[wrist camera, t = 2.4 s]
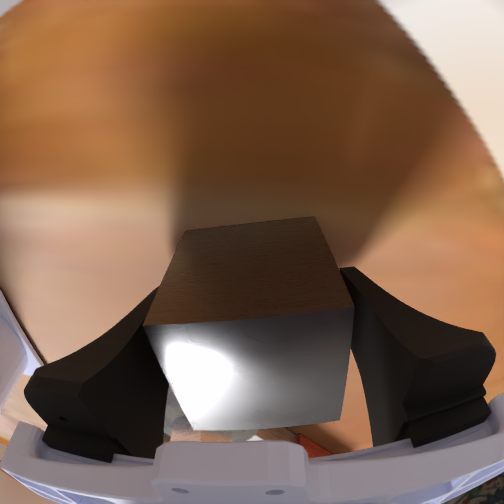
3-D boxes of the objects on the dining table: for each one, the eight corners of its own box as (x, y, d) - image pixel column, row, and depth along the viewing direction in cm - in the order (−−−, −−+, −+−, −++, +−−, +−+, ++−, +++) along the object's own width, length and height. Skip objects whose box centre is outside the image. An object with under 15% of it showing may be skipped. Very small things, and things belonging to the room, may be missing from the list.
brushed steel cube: (209, 328, 15) (193, 430, 10) (185, 231, 13) (142, 325, 8) (317, 318, 15) (339, 420, 10) (314, 216, 13) (354, 306, 7)
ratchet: (138, 379, 18) (115, 451, 13) (211, 341, 16) (198, 430, 11) (298, 473, 25) (302, 519, 20) (357, 453, 23) (366, 502, 18)
